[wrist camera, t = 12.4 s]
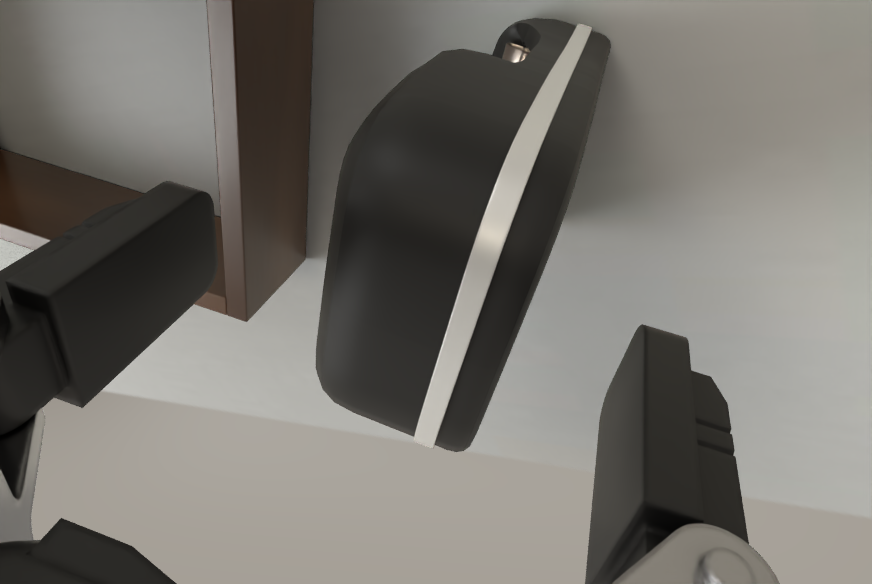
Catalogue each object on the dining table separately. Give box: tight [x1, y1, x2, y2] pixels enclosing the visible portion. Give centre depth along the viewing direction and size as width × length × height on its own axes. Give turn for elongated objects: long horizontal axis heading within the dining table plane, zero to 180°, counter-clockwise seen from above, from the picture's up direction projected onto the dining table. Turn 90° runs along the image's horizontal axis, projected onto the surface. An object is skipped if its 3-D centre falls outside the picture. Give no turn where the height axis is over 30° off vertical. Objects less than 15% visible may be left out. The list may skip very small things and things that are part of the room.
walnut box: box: [0, 0, 314, 322], centre depth 20 cm, size 16×14×4 cm
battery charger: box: [316, 18, 611, 452], centre depth 14 cm, size 7×4×11 cm, turn 165°
